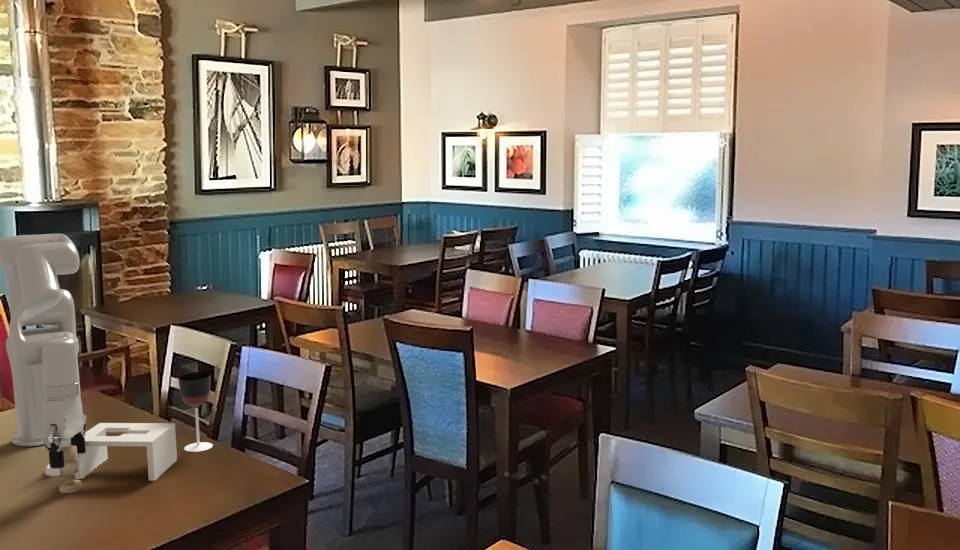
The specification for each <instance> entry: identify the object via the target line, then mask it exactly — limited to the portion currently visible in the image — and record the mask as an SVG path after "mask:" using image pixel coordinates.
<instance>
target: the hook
mask: <svg viewBox="0 0 960 550" xmlns="http://www.w3.org/2000/svg"><path fill="white" fill-rule="evenodd" d="M72 437H73V436H72ZM68 445H71V438H69V439H67V440H65V441H64V442H63V446H68ZM63 446H62V447H63ZM45 474H46V475H45ZM44 475H45V476H47V475H49V476H48V477H59V476H58V475H60V468H51V467H50V463H49V464H48V465H47V466H46V468H45V471H44Z"/></svg>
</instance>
